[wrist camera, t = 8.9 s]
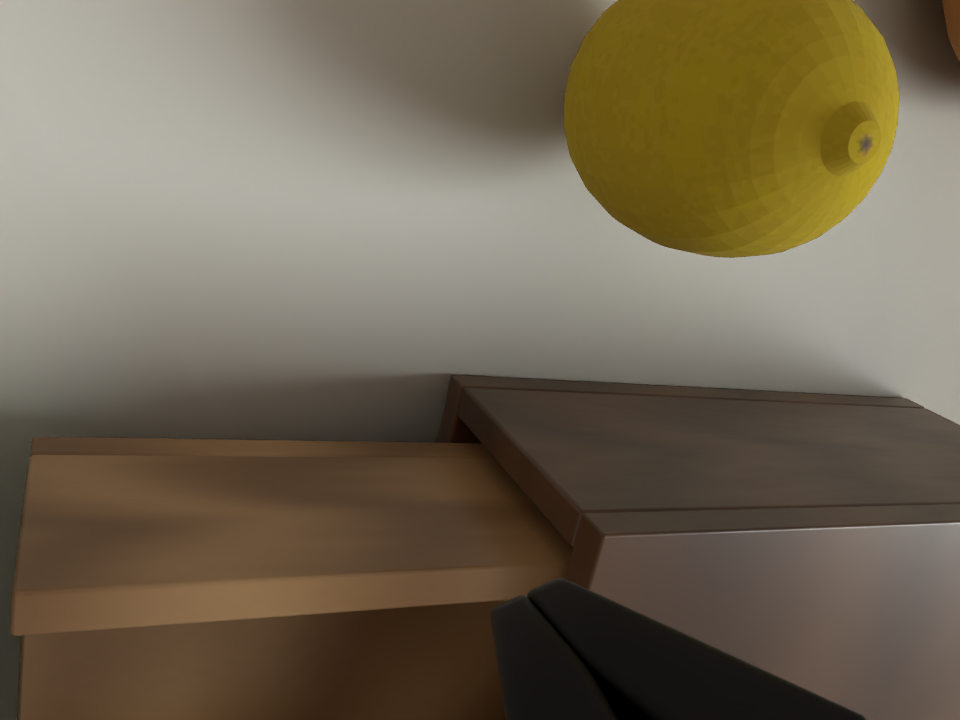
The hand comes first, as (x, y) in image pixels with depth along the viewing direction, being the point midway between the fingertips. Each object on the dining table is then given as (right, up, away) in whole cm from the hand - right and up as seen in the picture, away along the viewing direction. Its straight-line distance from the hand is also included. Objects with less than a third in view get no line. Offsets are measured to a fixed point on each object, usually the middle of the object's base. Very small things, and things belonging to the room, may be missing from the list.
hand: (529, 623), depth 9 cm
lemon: (+3, +9, +12) cm, 15 cm away
